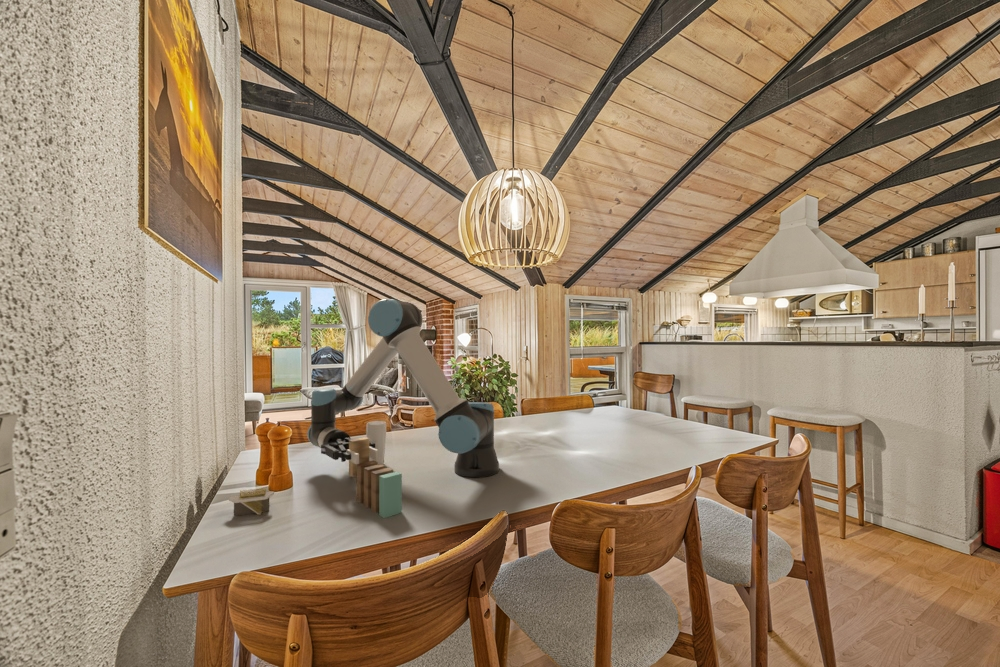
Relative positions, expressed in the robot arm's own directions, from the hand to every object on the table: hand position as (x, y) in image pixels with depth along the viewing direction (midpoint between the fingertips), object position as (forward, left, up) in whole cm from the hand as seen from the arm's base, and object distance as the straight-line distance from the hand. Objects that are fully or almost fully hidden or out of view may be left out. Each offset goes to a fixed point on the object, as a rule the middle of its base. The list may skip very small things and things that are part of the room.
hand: (367, 457), depth 113 cm
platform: (+26, -12, -12) cm, 31 cm away
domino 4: (0, +8, -12) cm, 14 cm away
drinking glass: (-16, -27, -12) cm, 34 cm away
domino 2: (0, -1, -12) cm, 12 cm away
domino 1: (0, -5, -6) cm, 8 cm away
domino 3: (0, +4, -12) cm, 12 cm away
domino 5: (0, +13, -12) cm, 17 cm away
